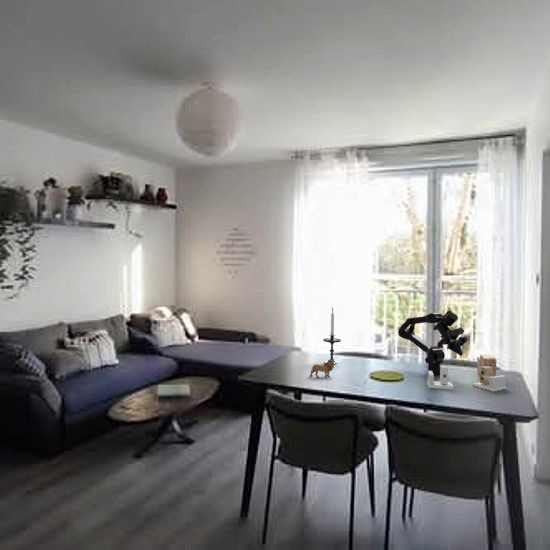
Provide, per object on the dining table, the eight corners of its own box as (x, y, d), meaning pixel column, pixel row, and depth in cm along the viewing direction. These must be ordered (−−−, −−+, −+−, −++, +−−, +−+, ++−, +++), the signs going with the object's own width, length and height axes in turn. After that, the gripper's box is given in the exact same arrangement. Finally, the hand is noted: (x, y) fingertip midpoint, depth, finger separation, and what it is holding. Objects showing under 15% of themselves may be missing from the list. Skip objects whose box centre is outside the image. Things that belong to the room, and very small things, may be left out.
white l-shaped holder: (472, 386, 242) (472, 373, 242) (485, 384, 247) (485, 371, 247) (493, 391, 232) (493, 378, 232) (506, 389, 237) (506, 376, 237)
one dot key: (446, 381, 243) (446, 365, 243) (447, 384, 237) (448, 368, 237) (439, 381, 244) (440, 365, 244) (441, 383, 238) (441, 367, 238)
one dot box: (450, 384, 245) (451, 372, 245) (453, 389, 235) (453, 376, 235) (427, 383, 247) (427, 370, 247) (428, 387, 238) (429, 374, 237)
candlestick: (320, 361, 302) (321, 305, 302) (336, 360, 305) (337, 305, 304) (326, 364, 292) (327, 306, 291) (343, 364, 294) (344, 306, 294)
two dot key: (479, 383, 241) (479, 367, 241) (487, 381, 244) (487, 366, 244) (484, 384, 238) (484, 368, 238) (492, 383, 242) (493, 367, 241)
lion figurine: (331, 374, 264) (331, 358, 264) (336, 376, 259) (336, 360, 259) (307, 376, 259) (307, 359, 258) (311, 378, 254) (311, 361, 254)
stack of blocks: (476, 372, 276) (477, 351, 275) (488, 373, 274) (489, 352, 274) (483, 381, 255) (483, 358, 255) (496, 382, 253) (496, 358, 253)
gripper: (442, 323, 254) (458, 347, 245) (465, 321, 263) (482, 344, 254) (430, 336, 261) (446, 359, 252) (453, 334, 270) (469, 357, 261)
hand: (461, 355), depth 254 cm, fingers closed
